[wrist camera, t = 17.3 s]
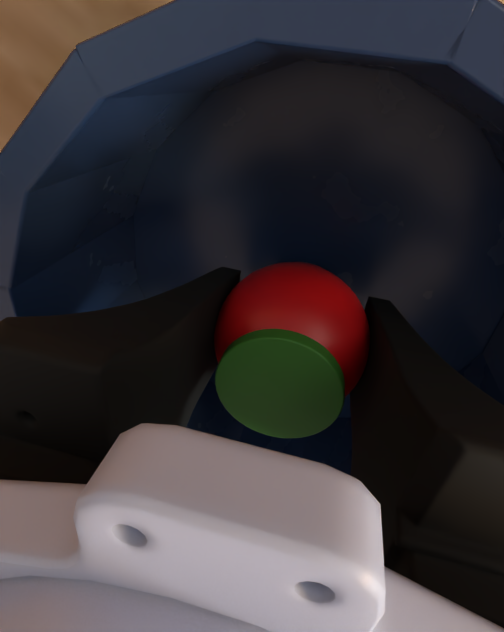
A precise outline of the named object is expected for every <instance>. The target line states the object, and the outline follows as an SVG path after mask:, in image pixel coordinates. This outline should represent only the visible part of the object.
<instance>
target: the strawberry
mask: <svg viewBox="0 0 504 632" xmlns="http://www.w3.org/2000/svg"><path fill="white" fill-rule="evenodd" d="M369 347H370V329H369V324H368V320H367V316H366V313H365V311H364V309H363V306H362V304H361V303H360V301H359V299H358V298H357V296H356V294H355V293H354V292H353V291H352V290H351V288H350V287H349V286H348V285H347V284H346V283H344V282H343V281H342V280H341V279H340V278H339V277H337V276H336V275H334V274H333V273H331V272H329V271H327V270H325V269H324V268H322V267H320V266H317V265H315V264H311V263H306V262H283V263H277V264H272V265H269V266H266V267H263V268H261V269H258V270H256V271H254V272H253V273H251V274H249V275H248V276H247V277H245V278H244V279H243V280H241V281H240V282H239V283H238V284H237V285H236V286H235V287H234V288H233V289H232V291H231V292H230V293H229V295H228V296H227V297H226V299H225V301H224V303H223V305H222V307H221V309H220V311H219V314H218V318H217V322H216V325H215V333H214V348H215V354H216V358H217V362H218V366H217V368H216V373H215V385H216V391H217V394H218V396H219V399H220V401H221V402H222V404H223V406H224V407H225V408H226V410H227V411H228V412H229V413H230V414H231V415H232V416H233V417H234V418H235V419H236V420H238V421H239V422H240V423H242V424H243V425H245V426H246V427H248V428H250V429H252V430H254V431H257V432H259V433H262V434H265V435H268V436H273V437H278V438H302V437H307V436H311V435H314V434H316V433H319V432H321V431H323V430H324V429H326V428H327V427H329V426H330V425H331V424H332V423H333V422H334V421H335V420H336V419H337V417H338V416H339V414H340V413H341V411H342V408H343V405H344V401H345V397H346V396H347V395H348V394H349V393H350V392H351V391H352V390H353V388H354V387H355V386H356V384H357V383H358V381H359V380H360V378H361V376H362V374H363V372H364V369H365V366H366V363H367V359H368V353H369Z"/></svg>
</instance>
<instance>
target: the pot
mask: <svg viewBox="0 0 504 632" xmlns="http://www.w3.org/2000/svg"><path fill="white" fill-rule="evenodd" d="M283 262H306V263H311V264H315V265H317V266H320V267H322V268H324V269H325V270H327V271H329V272H331V273H333V274H334V275H336V276H337V277H339V278H340V279H341V280H342V281H343V282H344V283H346V284H347V285H348V286H349V287H350V288H351V290H352V291H353V292H354V293H355V294H356V296H357V298H358V299H359V301H360V303H361V304H362V306H363V309H365V306H366V303H367V300H368V296H370V297H375V298H380V299H385V300H390V301H391V302H392V304H393V305H394V306H395V307H396V308H397V309H398V311H399V312H400V313H401V314H402V315H403V317H404V318H405V319H406V320H407V322H408V323H409V324H410V325H411V326H412V327H413V329H414V330H415V331H416V332H417V333H418V334H419V335H420V336H421V338H422V339H423V340H424V341H425V342H426V343H427V344H428V345H429V346H430V347H431V348H432V349H433V350H434V351H435V352H436V353H437V354H438V355H439V356H440V357H441V358H442V359H443V360H444V361H445V362H447V363H448V364H449V365H450V366H451V367H452V368H454V369H455V370H456V371H457V372H458V373H460V374H461V375H462V376H463V377H464V378H466V379H467V380H468V381H470V382H471V383H472V384H474V385H475V386H476V387H478V388H479V389H480V390H482V391H483V392H485V393H486V394H488V395H489V396H491V397H492V398H493V399H495V400H496V401H498V402H499V403H501V404H502V405H504V4H503V3H501V2H500V1H499V0H174V1H171V2H169V3H167V4H165V5H163V6H160V7H158V8H156V9H154V10H151V11H149V12H147V13H145V14H143V15H140V16H138V17H136V18H134V19H132V20H129V21H127V22H125V23H123V24H120V25H118V26H116V27H114V28H112V29H109V30H107V31H105V32H103V33H100V34H98V35H96V36H94V37H92V38H89V39H87V40H85V41H83V42H81V43H78V44H77V45H76V49H74V50H73V51H72V52H71V53H70V55H69V56H68V57H67V59H66V60H65V62H64V63H63V65H62V66H61V67H60V69H59V70H58V72H57V73H56V74H55V76H54V77H53V79H52V80H51V82H50V83H49V84H48V86H47V87H46V89H45V90H44V91H43V93H42V94H41V96H40V97H39V99H38V100H37V101H36V103H35V104H34V106H33V107H32V108H31V110H30V111H29V113H28V114H27V116H26V117H25V118H24V120H23V121H22V123H21V124H20V125H19V127H18V128H17V130H16V131H15V133H14V134H13V135H12V137H11V138H10V140H9V141H8V142H7V144H6V145H5V147H4V148H3V150H2V151H1V152H0V321H2V320H3V319H4V318H6V317H27V316H52V315H64V314H73V313H82V312H89V311H96V310H101V309H106V308H111V307H116V306H121V305H126V304H130V303H133V302H137V301H140V300H144V299H147V298H150V297H153V296H156V295H159V294H162V293H164V292H166V291H169V290H171V289H174V288H176V287H179V286H181V285H184V284H186V283H188V282H190V281H192V280H194V279H196V278H198V277H201V276H203V275H205V274H207V273H209V272H211V271H213V270H215V269H217V268H220V267H226V268H231V269H236V270H241V274H240V281H241V280H243V279H244V278H245V277H247V276H248V275H249V274H251V273H253V272H254V271H256V270H258V269H261V268H263V267H266V266H269V265H272V264H277V263H283ZM217 366H218V365H217ZM216 368H217V367H216ZM215 373H216V369H215V371H214V372H213V374H212V376H211V378H210V380H209V381H208V383H207V385H206V387H205V389H204V390H203V392H202V394H201V396H200V398H199V400H198V402H197V404H196V406H195V408H194V410H193V412H192V414H191V417H190V419H189V422H188V424H187V426H186V428H189V429H193V430H197V431H201V432H205V433H208V434H212V435H216V436H220V437H224V438H227V439H231V440H235V441H239V442H243V443H247V444H250V445H254V446H258V447H262V448H266V449H270V450H273V451H277V452H281V453H285V454H289V455H292V456H296V457H300V458H304V459H308V460H312V461H315V462H319V463H323V464H326V465H328V466H331V467H333V468H335V469H337V470H339V471H341V472H344V473H346V474H348V475H350V476H351V460H352V429H351V410H350V393H349V394H348V395H347V396H346V397H345V401H344V405H343V408H342V411H341V413H340V414H339V416H338V417H337V419H336V420H335V421H334V422H333V423H332V424H331V425H330V426H329V427H327V428H326V429H324V430H323V431H321V432H319V433H316V434H314V435H311V436H307V437H302V438H278V437H273V436H268V435H265V434H262V433H259V432H257V431H254V430H252V429H250V428H248V427H246V426H245V425H243V424H242V423H240V422H239V421H238V420H236V419H235V418H234V417H233V416H232V415H231V414H230V413H229V412H228V411H227V410H226V408H225V407H224V406H223V404H222V402H221V401H220V399H219V396H218V394H217V391H216V385H215Z"/></svg>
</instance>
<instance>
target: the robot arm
mask: <svg viewBox="0 0 504 632" xmlns="http://www.w3.org/2000/svg"><path fill="white" fill-rule="evenodd" d="M240 274H241V270H236V269H231V268H226V267H220V268H217V269H215V270H213V271H211V272H209V273H207V274H205V275H203V276H201V277H198V278H196V279H194V280H192V281H190V282H188V283H186V284H184V285H181V286H179V287H176V288H174V289H171V290H169V291H166V292H164V293H162V294H159V295H156V296H153V297H150V298H147V299H144V300H140V301H137V302H133V303H130V304H126V305H121V306H116V307H111V308H106V309H101V310H96V311H89V312H82V313H73V314H64V315H52V316H27V317H6V318H4V319H3V320H2V321H0V632H504V405H502V404H501V403H499V402H498V401H496V400H495V399H493V398H492V397H491V396H489V395H488V394H486V393H485V392H483V391H482V390H480V389H479V388H478V387H476V386H475V385H474V384H472V383H471V382H470V381H468V380H467V379H466V378H464V377H463V376H462V375H461V374H460V373H458V372H457V371H456V370H455V369H454V368H452V367H451V366H450V365H449V364H448V363H447V362H445V361H444V360H443V359H442V358H441V357H440V356H439V355H438V354H437V353H436V352H435V351H434V350H433V349H432V348H431V347H430V346H429V345H428V344H427V343H426V342H425V341H424V340H423V339H422V338H421V336H420V335H419V334H418V333H417V332H416V331H415V330H414V329H413V327H412V326H411V325H410V324H409V323H408V322H407V320H406V319H405V318H404V317H403V315H402V314H401V313H400V312H399V311H398V309H397V308H396V307H395V306H394V305H393V304H392V302H391V301H390V300H385V299H380V298H375V297H370V296H368V300H367V303H366V306H365V309H364V311H365V313H366V316H367V320H368V324H369V329H370V347H369V353H368V359H367V363H366V366H365V369H364V372H363V374H362V376H361V378H360V380H359V381H358V383H357V384H356V386H355V387H354V388H353V390H352V391H351V392H350V410H351V429H352V460H351V476H350V475H348V474H346V473H344V472H341V471H339V470H337V469H335V468H333V467H331V466H328V465H326V464H323V463H319V462H315V461H312V460H308V459H304V458H300V457H296V456H292V455H289V454H285V453H281V452H277V451H273V450H270V449H266V448H262V447H258V446H254V445H250V444H247V443H243V442H239V441H235V440H231V439H227V438H224V437H220V436H216V435H212V434H208V433H205V432H201V431H197V430H193V429H189V428H186V426H187V424H188V422H189V419H190V417H191V414H192V412H193V410H194V408H195V406H196V404H197V402H198V400H199V398H200V396H201V394H202V392H203V390H204V389H205V387H206V385H207V383H208V381H209V380H210V378H211V376H212V374H213V372H214V371H215V369H216V367H217V365H218V362H217V358H216V354H215V348H214V333H215V325H216V322H217V318H218V314H219V311H220V309H221V307H222V305H223V303H224V301H225V299H226V297H227V296H228V295H229V293H230V292H231V291H232V289H233V288H234V287H235V286H236V285H237V284H238V283H239V282H240Z"/></svg>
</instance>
